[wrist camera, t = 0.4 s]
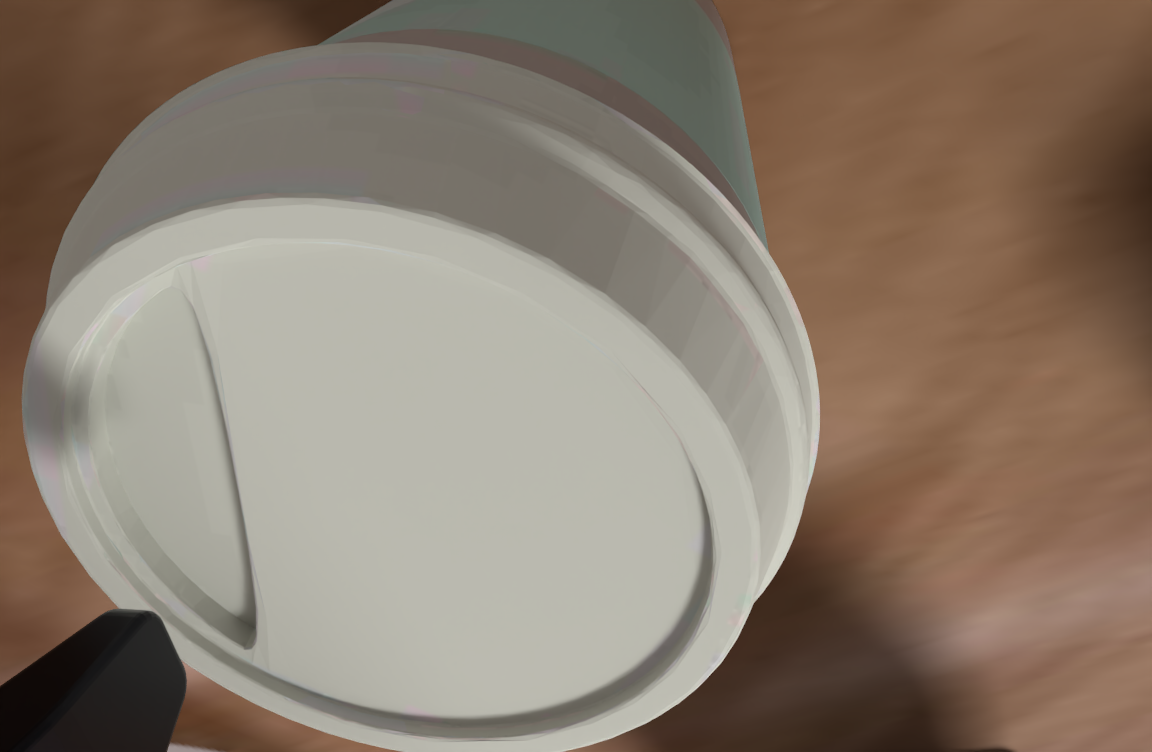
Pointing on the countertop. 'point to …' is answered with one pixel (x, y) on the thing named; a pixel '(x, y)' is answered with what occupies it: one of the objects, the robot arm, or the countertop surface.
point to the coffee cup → (436, 374)
